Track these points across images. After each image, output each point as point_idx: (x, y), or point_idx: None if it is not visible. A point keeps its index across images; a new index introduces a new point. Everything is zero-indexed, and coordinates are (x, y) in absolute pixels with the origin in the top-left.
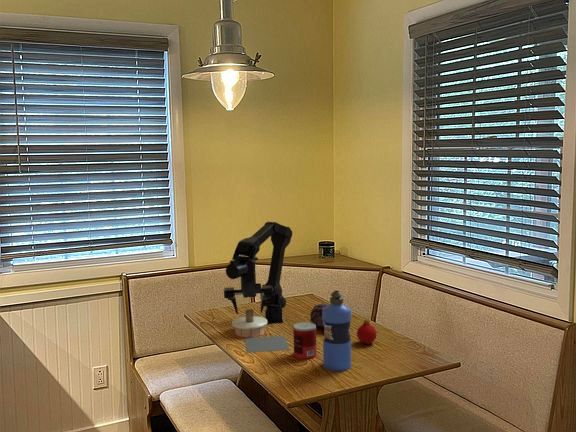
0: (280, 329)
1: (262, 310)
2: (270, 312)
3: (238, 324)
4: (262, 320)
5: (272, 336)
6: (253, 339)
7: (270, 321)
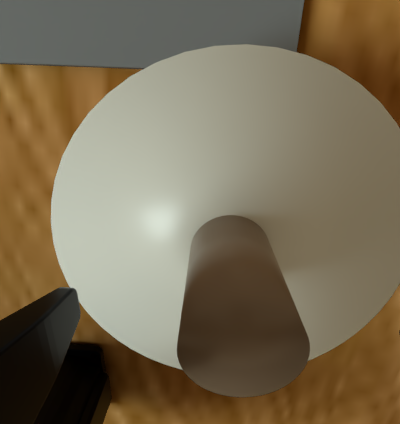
0: (16, 237)
1: (26, 306)
2: (51, 417)
3: (368, 183)
4: (101, 249)
5: (53, 62)
6: (222, 15)
7: (81, 357)
